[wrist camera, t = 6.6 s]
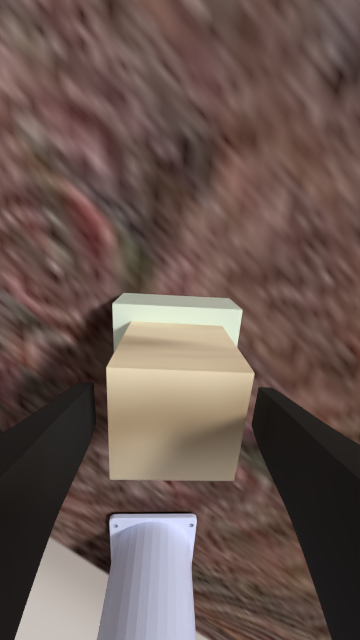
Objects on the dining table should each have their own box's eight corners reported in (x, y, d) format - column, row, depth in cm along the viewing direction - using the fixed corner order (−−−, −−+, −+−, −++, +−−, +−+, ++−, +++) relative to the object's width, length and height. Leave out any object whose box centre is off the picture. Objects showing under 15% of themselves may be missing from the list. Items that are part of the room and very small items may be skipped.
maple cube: (212, 401, 14) (233, 480, 9) (131, 399, 14) (109, 479, 9) (222, 325, 12) (254, 373, 8) (131, 320, 12) (106, 367, 7)
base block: (217, 387, 17) (226, 415, 14) (125, 385, 17) (115, 413, 14) (228, 298, 15) (242, 309, 12) (123, 292, 15) (112, 303, 12)
